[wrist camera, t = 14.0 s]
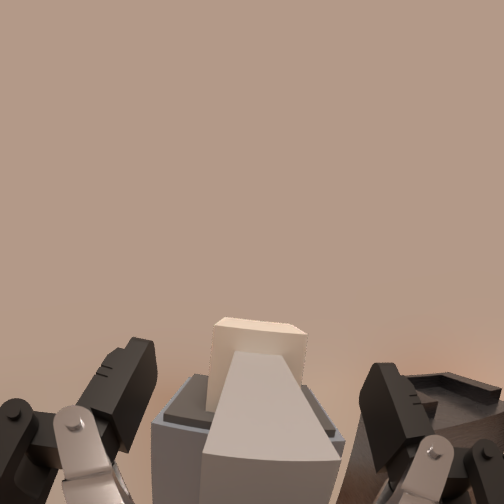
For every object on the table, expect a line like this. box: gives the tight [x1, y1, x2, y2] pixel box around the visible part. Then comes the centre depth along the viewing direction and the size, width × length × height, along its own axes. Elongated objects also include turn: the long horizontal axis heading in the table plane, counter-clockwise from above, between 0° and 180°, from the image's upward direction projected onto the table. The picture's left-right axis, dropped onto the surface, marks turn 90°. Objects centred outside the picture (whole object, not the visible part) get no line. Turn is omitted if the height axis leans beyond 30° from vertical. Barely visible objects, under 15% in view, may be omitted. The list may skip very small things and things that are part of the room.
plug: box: [199, 317, 341, 504], centre depth 13 cm, size 5×18×5 cm, turn 0°
